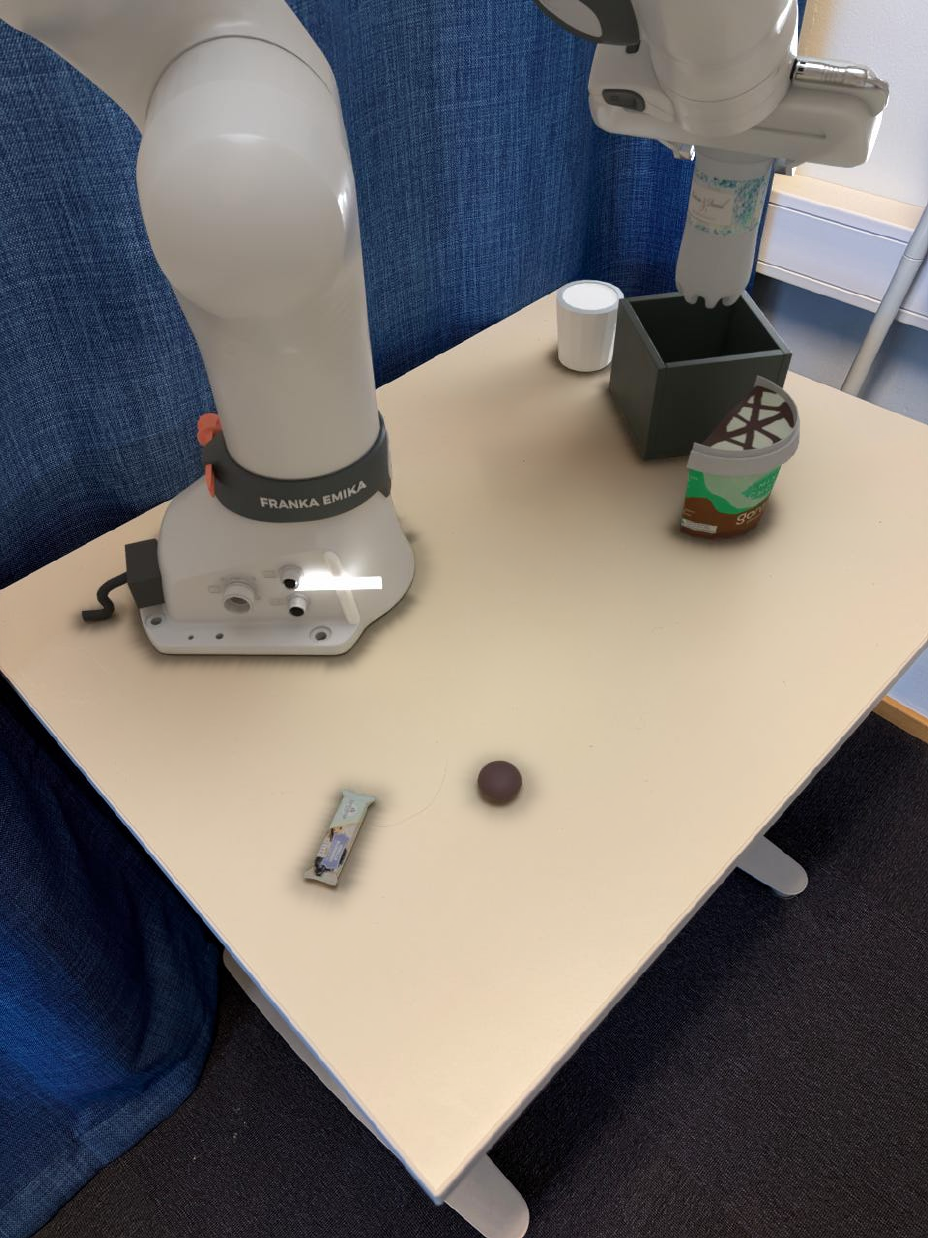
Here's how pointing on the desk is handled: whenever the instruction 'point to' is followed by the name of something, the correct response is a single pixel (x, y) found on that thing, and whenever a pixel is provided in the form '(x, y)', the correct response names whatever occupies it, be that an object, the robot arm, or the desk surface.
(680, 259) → the bottle
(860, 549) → the desk surface
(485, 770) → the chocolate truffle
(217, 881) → the desk surface
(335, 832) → the granola bar
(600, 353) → the white cylinder
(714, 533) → the food container
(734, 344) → the bin
